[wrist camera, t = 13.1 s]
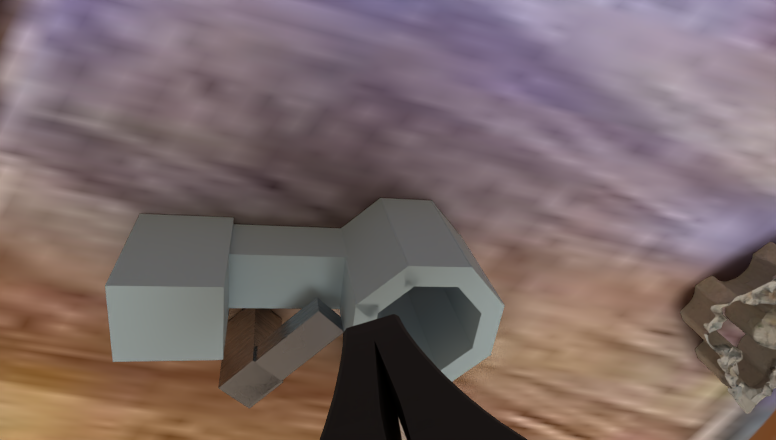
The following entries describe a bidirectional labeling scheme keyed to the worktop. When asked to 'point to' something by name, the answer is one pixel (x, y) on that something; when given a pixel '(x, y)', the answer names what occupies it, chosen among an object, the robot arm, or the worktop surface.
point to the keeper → (272, 348)
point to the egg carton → (752, 315)
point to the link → (301, 282)
